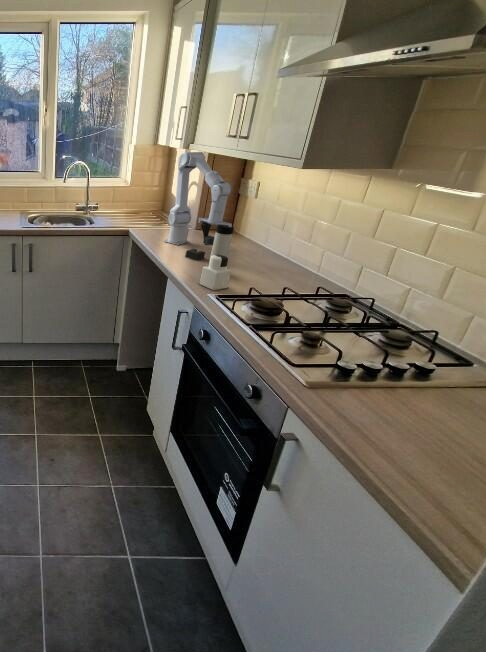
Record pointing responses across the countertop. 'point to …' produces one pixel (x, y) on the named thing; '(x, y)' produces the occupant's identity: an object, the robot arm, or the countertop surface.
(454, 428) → the countertop surface
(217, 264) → the white block with post
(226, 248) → the travel mug
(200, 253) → the black notched block
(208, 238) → the grey t-shaped block
